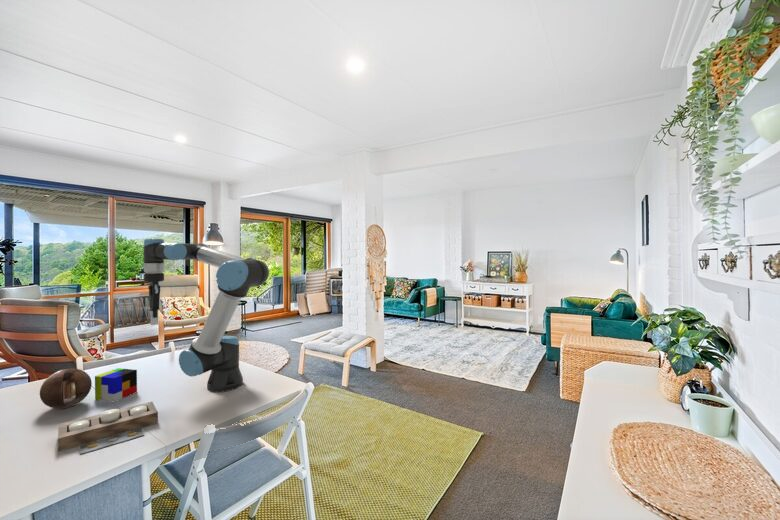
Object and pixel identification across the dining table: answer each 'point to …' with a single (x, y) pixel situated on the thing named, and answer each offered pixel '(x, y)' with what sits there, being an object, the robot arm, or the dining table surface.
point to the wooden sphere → (65, 388)
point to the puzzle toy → (115, 384)
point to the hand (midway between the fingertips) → (154, 324)
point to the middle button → (109, 415)
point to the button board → (107, 430)
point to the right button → (138, 410)
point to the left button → (79, 425)
